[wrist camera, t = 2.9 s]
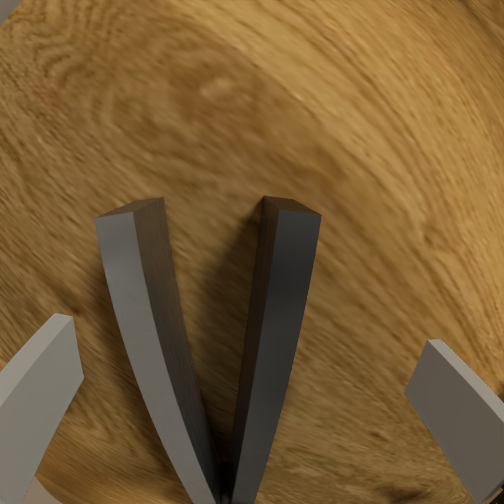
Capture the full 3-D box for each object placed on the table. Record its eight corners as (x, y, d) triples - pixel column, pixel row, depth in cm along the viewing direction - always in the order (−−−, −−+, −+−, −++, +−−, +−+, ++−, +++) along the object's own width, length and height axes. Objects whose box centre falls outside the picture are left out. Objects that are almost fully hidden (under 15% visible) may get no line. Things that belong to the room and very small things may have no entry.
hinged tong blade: (219, 461, 20) (219, 512, 15) (201, 462, 20) (198, 512, 15) (163, 197, 15) (132, 211, 10) (135, 201, 14) (94, 218, 10)
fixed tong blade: (246, 485, 22) (250, 538, 16) (201, 483, 21) (199, 537, 16) (301, 200, 15) (341, 221, 10) (221, 190, 15) (215, 206, 9)
